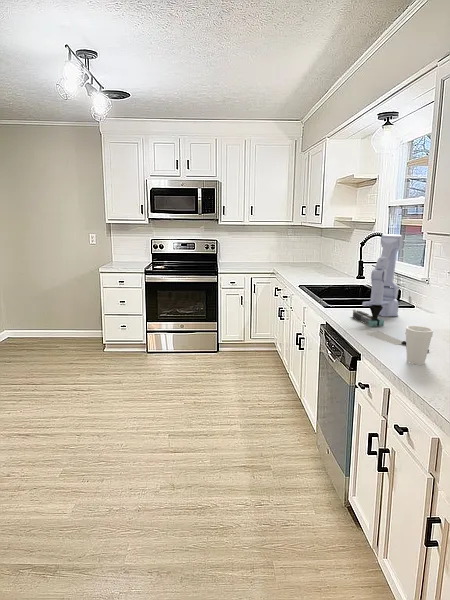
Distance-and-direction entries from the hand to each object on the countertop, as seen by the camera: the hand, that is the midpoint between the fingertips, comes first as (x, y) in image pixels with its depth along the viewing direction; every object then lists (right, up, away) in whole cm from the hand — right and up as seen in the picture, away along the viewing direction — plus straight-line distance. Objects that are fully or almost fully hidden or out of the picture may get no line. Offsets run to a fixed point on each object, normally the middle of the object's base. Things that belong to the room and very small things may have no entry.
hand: (374, 319), depth 235 cm
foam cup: (-4, -14, -60) cm, 61 cm away
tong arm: (-3, -1, +3) cm, 4 cm away
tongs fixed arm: (-5, -1, 0) cm, 5 cm away
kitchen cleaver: (-2, -9, -34) cm, 35 cm away
